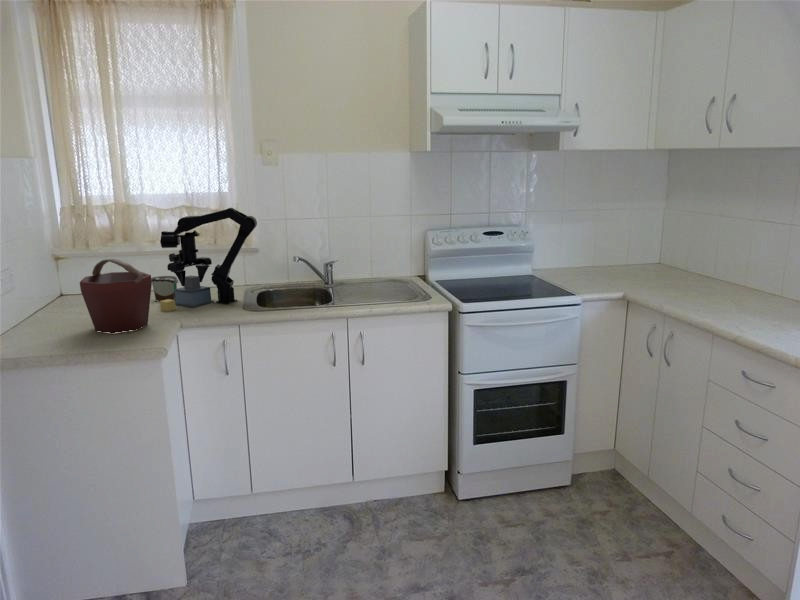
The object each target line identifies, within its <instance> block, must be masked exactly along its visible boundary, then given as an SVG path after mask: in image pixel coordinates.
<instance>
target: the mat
mask: <svg viewBox="0 0 800 600" xmlns="http://www.w3.org/2000/svg"><path fill="white" fill-rule="evenodd" d="M214 301H215V300H212V299H211V301H210V302H206V303H202V304H199V305H195V306H189V305H183V304H176V302H175V306H178V305H179V307H185V308H190V307H191V309H194V308H197V306H198V307H201V306H205V305H207V303H208V304H211V302H212V303H215V302H214ZM204 304H205V305H204ZM193 307H194V308H193Z"/></svg>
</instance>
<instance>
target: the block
mask: <svg viewBox="0 0 800 600" xmlns="http://www.w3.org/2000/svg"><path fill="white" fill-rule="evenodd" d="M175 303H176V301H175V300H170V299H167V300H163V301H159V304H160V306H159V307H160V311H161V312H168V311H169V312H173V311H176V310H177V307H176V306H177V305H175ZM175 309H176V310H175ZM172 310H173V311H172ZM169 312H168V313H169Z"/></svg>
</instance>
